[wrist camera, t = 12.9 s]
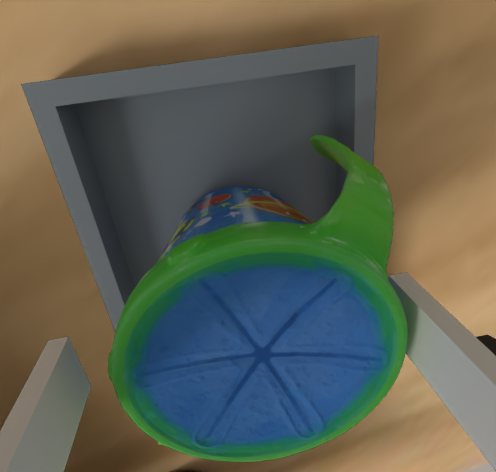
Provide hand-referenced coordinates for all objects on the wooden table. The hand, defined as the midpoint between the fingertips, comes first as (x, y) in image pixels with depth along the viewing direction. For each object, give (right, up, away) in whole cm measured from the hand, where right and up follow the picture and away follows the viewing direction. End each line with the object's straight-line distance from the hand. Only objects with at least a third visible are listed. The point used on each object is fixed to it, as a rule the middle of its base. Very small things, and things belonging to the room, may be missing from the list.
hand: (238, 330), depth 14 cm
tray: (-1, +4, +7) cm, 8 cm away
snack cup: (0, +4, +7) cm, 8 cm away
